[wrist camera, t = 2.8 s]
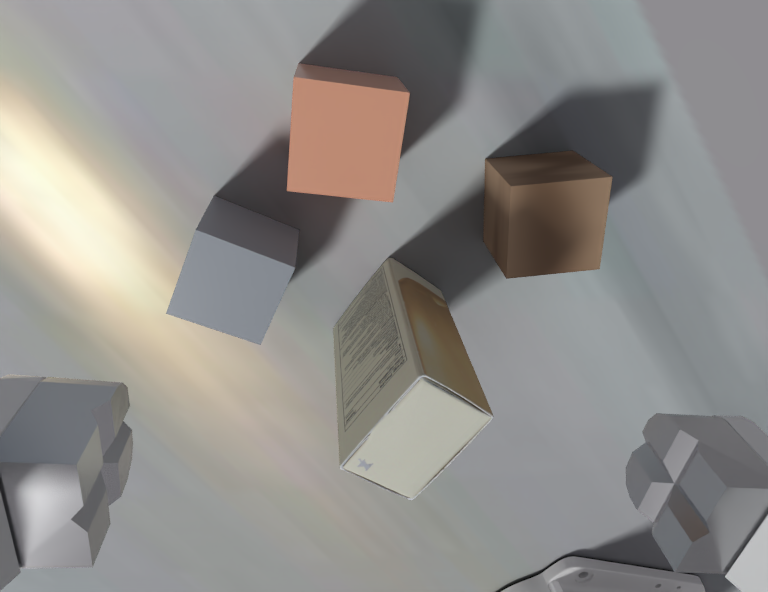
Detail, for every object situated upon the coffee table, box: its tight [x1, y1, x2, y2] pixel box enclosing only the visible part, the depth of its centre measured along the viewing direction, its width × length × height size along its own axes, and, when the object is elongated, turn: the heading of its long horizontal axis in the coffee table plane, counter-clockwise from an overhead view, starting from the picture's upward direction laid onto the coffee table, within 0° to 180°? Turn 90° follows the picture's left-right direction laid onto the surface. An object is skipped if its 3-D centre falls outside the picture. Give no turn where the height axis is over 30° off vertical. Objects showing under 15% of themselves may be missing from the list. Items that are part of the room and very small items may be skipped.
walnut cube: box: [483, 151, 612, 279], centre depth 30 cm, size 5×5×5 cm
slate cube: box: [166, 196, 299, 345], centre depth 30 cm, size 5×5×5 cm
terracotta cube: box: [287, 63, 410, 202], centre depth 27 cm, size 5×5×5 cm
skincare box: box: [333, 258, 493, 500], centre depth 30 cm, size 6×4×12 cm
